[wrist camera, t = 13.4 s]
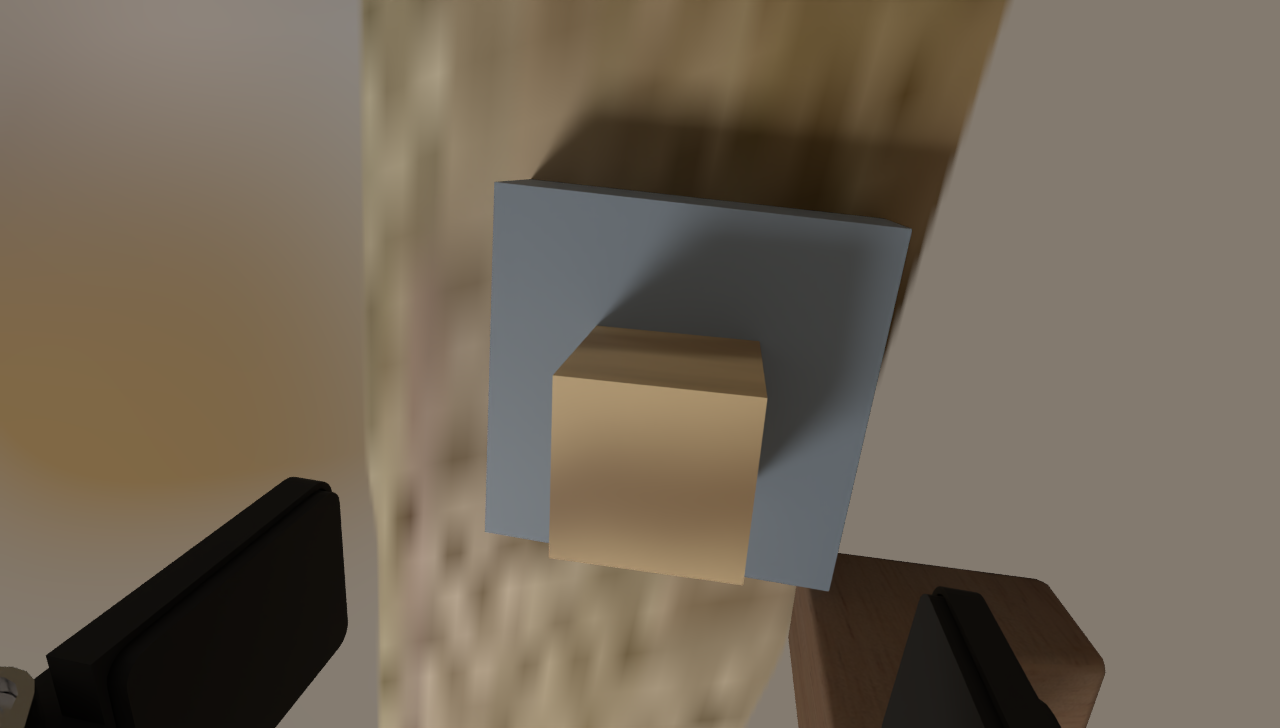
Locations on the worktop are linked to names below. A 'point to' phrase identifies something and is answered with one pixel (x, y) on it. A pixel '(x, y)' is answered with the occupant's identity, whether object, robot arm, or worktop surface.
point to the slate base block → (696, 305)
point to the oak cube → (657, 452)
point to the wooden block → (879, 628)
